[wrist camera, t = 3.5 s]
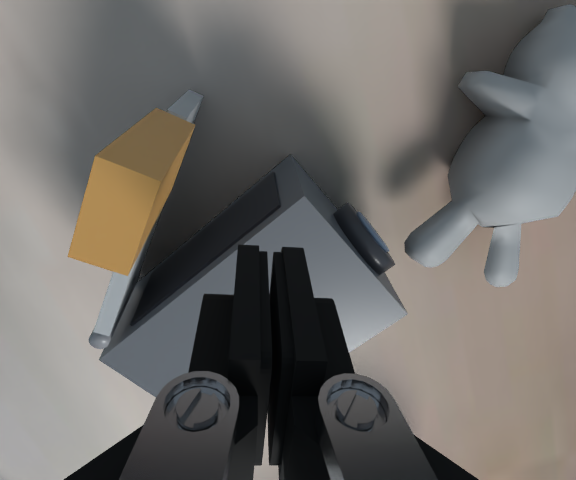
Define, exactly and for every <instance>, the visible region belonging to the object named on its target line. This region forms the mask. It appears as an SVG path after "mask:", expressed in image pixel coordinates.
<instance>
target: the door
mask: <svg viewBox="0 0 576 480" xmlns="http://www.w3.org/2000/svg"><path fill="white" fill-rule="evenodd" d="M202 99H203V95H201V94H198V93H196V92H194V91H192V90H190V89H189V90H188V91H187V92H186V93H185V94H184V95H183V96H182V97H180V98H179V99H178V100H177V101H176V102H175V103H174V104H173V105H172V106H171V107H169V108H168V109H167V111H166V112H165V111H163V110H161V109H158V108H155V109H154V110H153V111H151V112H150V113H149V114H148V115H146V116H145V117H144V118H142V119H141V120H140V121H139V122H137V123H136V124H135V125H134V126H132V127H131V128H130V129H128V130H127V131H126V132H125V133H123V134H122V135H121V136H120V137H118V138H117V139H116V140H114V141H113V142H112V143H111V144H109V145H108V146H107V147H105V148H104V149H103V150H102V151H100V152H99V153H98V154H97V155H95V158H94V161H93V165H92V169H91V173H90V176H89V180H88V184H87V187H86V191H85V195H84V198H83V202H82V206H81V209H80V213H79V217H78V220H77V224H76V228H75V231H74V235H73V239H72V242H71V246H70V250H69V253H68V257H70V258H73V259H76V260H79V261H82V262H85V263H88V264H92V265H95V266H98V267H101V268H104V269H107V270H110V271H113V274H112V277H111V280H110V283H109V286H108V289H107V292H106V295H105V298H104V301H103V304H102V307H101V310H100V313H99V316H98V319H97V322H96V325H95V328H94V330H93V332H92V334H91V335H90V337H89V343H90V345H91V346H93V347H94V348H98V349H103V348H106V347H107V346H108V345H109V342H110V340H111V338H112V336H113V334H114V331H115V329H116V327H117V325H118V323H119V321H120V318H121V316H122V314H123V312H124V310H125V307H126V305H127V303H128V301H129V299H130V297H131V294H132V292H133V290H134V288H135V286H136V283H137V281H138V279H139V277H140V273H139V272H140V269H141V267H142V264H143V261H144V258H145V256H146V253H147V250H148V247H149V245H150V242H151V239H152V236H153V234H154V231H155V228H156V225H157V223H158V220H159V217H160V214H161V212H162V209H163V206H164V204H165V202H166V200H167V198H168V196H169V194H170V192H171V190H172V188H173V185H174V182H175V179H176V177H177V174H178V171H179V168H180V166H181V163H182V160H183V158H184V155H185V152H186V149H187V147H188V144H189V141H190V138H191V136H192V133H193V130H194V127H195V124H194V121H195V118H196V116H197V113H198V110H199V107H200V105H201V102H202Z"/></svg>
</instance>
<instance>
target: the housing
mask: <svg viewBox="0 0 576 480" xmlns="http://www.w3.org/2000/svg"><path fill="white" fill-rule="evenodd" d="M238 244H239V245H259V251H267V256H268V276H269V294H270V283H271V272H272V261H273V253H274V252H281V249H282V247H299V248H304V252H305V257H306V262H307V266H308V271H309V276H310V280H311V285H312V290H313V295H314V298H332V299H333V300H334V302H335V305H336V309H337V312H338V316H339V319H340V323H341V327H342V330H343V334H344V337H345V341H346V344H347V348H348V351H349V352H351V351H352V350H354V349H355V348H357V347H358V346H360V345H361V344H363V343H364V342H366V341H367V340H369V339H370V338H372V337H374V336H375V335H377V334H378V333H380V332H381V331H383V330H384V329H386V328H387V327H389V326H390V325H392V324H393V323H395V322H396V321H398V320H399V319H401V318H402V317H404V316H405V315H407V314H408V313H407V312H406V310H405V308H404V306H403V304H402V303H401V301H400V299H399V297H398V296H397V294H396V292H395V290H394V288H393V287H392V285H391V283H390V281H389V279H388V278H387V276H386V274H385V271H387V270H388V269H390V268H391V267H392V266H394V265H395V263H394V261H393V259H392V257H391V256H390V254H389V253H388V251H389V249H388V247H387V246H386V244H385V243H384V241H383V240H382V239H381V237H380V236H379V235H378V233H377V232H376V231H375V229H374V228H373V227H372V225H371V224H370V223H369V222H368V220H367V219H366V218H365V217H364V216H363V215H362V213H361V212H357V211H356V210H355V209H354V208H353V207H352V206H351V205H350V204H349V203H346V204H345V205H344V206H342V207H341V208H340V209H338V210H337V208H336V207H335V206H334V205H333V204H332V203H331V201H330V200H329V199H328V198H327V197H326V195H325V194H324V193H323V192H322V191H321V190H320V188H319V187H318V186H317V185H316V184H315V182H314V181H313V180H312V179H311V178H310V177H309V175H308V174H307V173H306V172H305V171H304V169H303V168H302V167H301V166H300V165H299V164H298V162H297V161H296V160H295V159H294V158H293V156H292V155H291V154H290V155H289V156H288V157H287V158H286V159H284V160H283V161H282V162H281V163H280V164H278V165H277V166H276V167H275V168H274V169H272V170H271V171H270V172H269V173H268V174H266V175H265V176H264V177H263V178H262V179H260V180H259V181H258V182H257V183H256V184H255V185H253V186H252V187H251V188H250V189H249V190H247V191H246V192H245V193H244V194H243V195H241V196H240V197H239V198H238V199H237V200H235V201H234V202H233V203H232V204H231V205H229V206H228V207H227V208H226V209H225V210H223V211H222V212H221V213H220V214H219V215H218V216H216V217H215V218H214V219H213V220H212V221H210V222H209V223H208V224H207V225H206V226H204V227H203V228H202V229H201V230H200V231H198V232H197V233H196V234H195V235H194V236H192V237H191V238H190V239H189V240H188V241H187V242H185V243H184V244H183V245H182V246H181V247H179V248H178V249H177V250H176V251H175V252H173V253H172V254H171V255H170V256H169V257H167V258H166V259H165V260H164V261H163V262H161V263H160V264H159V265H158V266H157V267H156V268H154V269H153V270H152V271H151V272H150V273H148V274H147V275H146V276H145V277H144V278H142V279H141V280H140V281H139V282H138V283H136V286H135V288H134V290H133V292H132V294H131V297H130V299H129V301H128V303H127V305H126V307H125V310H124V312H123V314H122V316H121V318H120V321H119V323H118V325H117V327H116V329H115V331H114V334H113V336H112V338H111V340H110V342H109V345H108V346H107V347H106V348H104V350H103V352H102V354H101V357H100V359H99V360H100V361H101V362H103V363H104V364H106V365H107V366H109V367H111V368H112V369H114V370H115V371H117V372H118V373H120V374H121V375H123V376H124V377H126V378H127V379H129V380H130V381H132V382H133V383H135V384H136V385H138V386H139V387H141V388H142V389H144V390H145V391H147V392H148V393H150V394H152V395H153V396H155V397H157V395H158V394H159V392H160V391H161V389H162V388H163V387H164V386H165V385H166V384H167V383H169V382H170V381H171V380H172V379H174V378H176V377H178V376H180V375H182V374H185V373H188V371H189V366H190V361H191V356H192V350H193V345H194V340H195V335H196V330H197V325H198V320H199V315H200V309H201V304H202V299H203V295H204V294H229V295H234V287H235V275H236V263H237V251H238Z"/></svg>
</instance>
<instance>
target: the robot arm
mask: <svg viewBox="0 0 576 480" xmlns="http://www.w3.org/2000/svg"><path fill="white" fill-rule="evenodd" d="M267 412H268V446H269V465H278V468H279V480H478V479H477V478H476V477H474V476H473V475H471V474H470V473H468V472H467V471H465V470H464V469H462V468H461V467H460V466H458V465H457V464H455V463H454V462H452V461H451V460H449V459H448V458H447V457H445V456H444V455H442V454H441V453H439V452H438V451H436V450H435V449H433V448H432V447H431V446H429V445H428V444H426V443H425V442H423V441H422V440H420V439H419V438H417V437H416V436H415V435H413V433H412V431H411V429H410V427H409V425H408V424H407V422H406V420H405V418H404V416H403V414H402V413H401V411H400V409H399V407H398V405H397V403H396V402H395V400H394V398H393V397H392V396H391V394H390V393H389V391H388V390H387V389H386V388H384V387H383V386H382V385H381V384H380V383H378V382H377V381H375V380H373V379H371V378H369V377H367V376H363V375H359V374H355V372H354V369H353V365H352V362H351V358H350V355H349V351H348V348H347V344H346V341H345V337H344V334H343V330H342V327H341V323H340V319H339V316H338V312H337V309H336V305H335V302H334V300H333V299H332V298H314V295H313V290H312V285H311V280H310V276H309V271H308V266H307V262H306V257H305V252H304V248H299V247H282V249H281V252H274V253H273V261H272V272H271V283H270V294H269V276H268V256H267V251H259V245H239V244H238V251H237V263H236V275H235V287H234V295H229V294H204V295H203V299H202V304H201V309H200V315H199V320H198V325H197V330H196V335H195V340H194V345H193V350H192V356H191V361H190V366H189V371H188V373H185V374H182V375H180V376H178V377H176V378H174V379H172V380H171V381H170V382H169V383H167V384H166V385H165V386H164V387H163V388H162V389H161V391H160V392H159V394H158V395H157V397H156V399H155V401H154V403H153V406H152V408H151V410H150V412H149V414H148V417H147V419H146V421H145V423H144V425H143V426H141V427H140V428H138V429H137V430H135V431H134V432H133V433H131V434H130V435H128V436H127V437H125V438H124V439H122V440H121V441H119V442H118V443H116V444H115V445H114V446H112V447H111V448H109V449H108V450H106V451H105V452H103V453H102V454H100V455H99V456H97V457H96V458H95V459H93V460H92V461H90V462H89V463H87V464H86V465H84V466H83V467H81V468H80V469H79V470H77V471H76V472H74V473H73V474H71V475H70V476H68V477H67V478H65V479H64V480H253V473H254V465H262V457H263V448H264V438H265V429H266V419H267Z"/></svg>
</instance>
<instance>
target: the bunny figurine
mask: <svg viewBox="0 0 576 480" xmlns="http://www.w3.org/2000/svg"><path fill="white" fill-rule="evenodd" d="M458 87H459V88H460V89H461V90H462V92H463V93H464V94H465V95H466V96H467V97H468V98H469V99H470V100H471V101H472V102H473V103H474V104H475V105H476V106H477V107H478V108H479V109H480V110H481V111H482V112H483V113H484V114H485V115H486V116H485V117H484V118H483V119H482V120H481V121H480V122H479V123H477V124H476V125H475V126H474V127H473V128H472V129H471V130H470V132H469V133H468V135H467V136H466V137H465V139H464V140H463V142H462V143H461V145H460V147H459V149H458V151H457V153H456V155H455V156H454V158H453V161H452V164H451V167H450V170H449V173H448V181H449V186H450V192H451V198H452V201H451V202H450V203H448V204H447V205H446V206H444V207H443V208H442V209H441V210H439V211H438V212H437V213H435V214H434V215H433V216H432V217H430V218H429V219H428V220H427V221H425V222H424V223H423V224H422V225H420V226H419V227H418V228H416V229H415V230H414V231H413V232H411V233H410V235H409V236H408V238H407V239H406V241H405V252H406V253H407V254H408V255H409V256H410V257H411V258H412V259H413V260H415V261H416V262H418V263H420V264H421V265H423V266H425V267H436V266H438V265H440V264H442V263H443V262H445V261H446V260H447V259H448V258H449V256H450V255H451V254H452V253H453V252H454V251H455V250H456V248H457V247H458V246H459V245H460V244H461V243H462V242H463V240H464V239H465V238H466V237H467V236H468V235H469V234H470V232H471V231H472V230H473V229H474V228H475V227H476V226H477V224H479V225H480V226H481V227H493V228H494V231H493V235H492V239H491V244H490V248H489V252H488V257H487V261H486V265H485V269H484V274H485V278H486V280H487V281H488V282H489V283H490V284H491V285H493V286H495V287H504V286H508V285H509V284H511V283H512V282H513V281H515V280H516V277H517V273H518V269H519V253H520V235H521V224H522V223H527V222H532V221H537V220H542V219H547V218H552V217H557V216H559V214H560V213H561V212H562V211H563V209H564V208H565V207H566V206H567V204H568V203H569V202H570V200H571V198H572V197H573V195H574V193H575V191H576V7H575V6H573V5H571V4H569V5H565V6H561V7H557V8H553V9H549V10H548V11H547V13H546V14H545V16H544V18H543V20H542V22H541V23H540V24H539V25H537V26H536V27H535V28H534V29H533V30H532V31H531V32H530V33H528V34H527V35H526V36H525V37H524V38H523V39H522V40H521V41H520V42H519V43H518V45H517V46H516V47H515V48H514V50H513V51H512V53H511V54H510V57H509V59H508V62H507V65H506V67H505V70H504V75H500V74H497V73H493V72H490V71H476V72H466V74H465V75H464V77H463V78H462V80H461V82H460V83H459V85H458Z"/></svg>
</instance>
